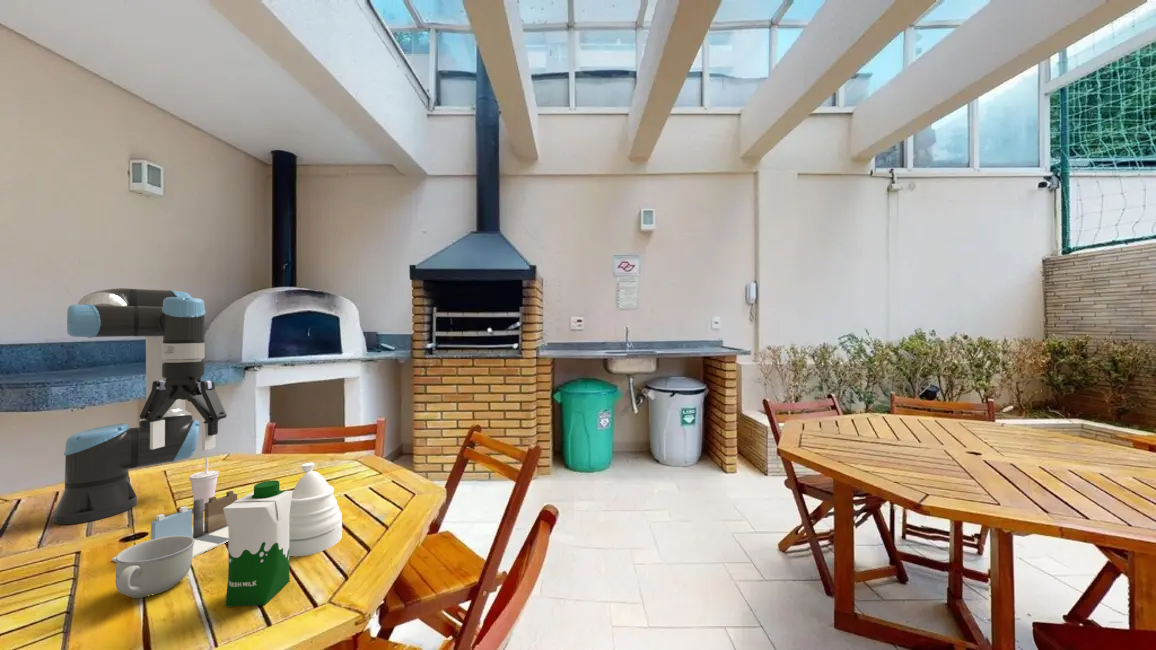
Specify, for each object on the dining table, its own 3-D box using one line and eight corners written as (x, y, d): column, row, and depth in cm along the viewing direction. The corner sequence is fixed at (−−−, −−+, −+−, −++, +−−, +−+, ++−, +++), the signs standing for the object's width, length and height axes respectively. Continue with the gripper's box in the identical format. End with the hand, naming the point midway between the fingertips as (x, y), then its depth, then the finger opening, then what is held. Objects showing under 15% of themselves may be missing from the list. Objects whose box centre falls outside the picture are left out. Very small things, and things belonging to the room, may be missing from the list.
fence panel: (150, 553, 92) (151, 517, 93) (187, 538, 99) (188, 504, 99) (154, 554, 92) (155, 518, 92) (192, 539, 99) (192, 505, 99)
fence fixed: (191, 537, 100) (191, 501, 100) (232, 520, 109) (232, 487, 109) (196, 538, 100) (196, 502, 100) (237, 521, 108) (237, 488, 108)
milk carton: (297, 579, 84) (297, 479, 84) (265, 609, 75) (266, 496, 75) (251, 580, 83) (252, 480, 84) (214, 611, 74) (215, 498, 75)
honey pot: (269, 544, 98) (270, 467, 98) (330, 524, 108) (330, 454, 108) (287, 563, 89) (288, 479, 90) (351, 540, 99) (351, 464, 100)
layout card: (112, 560, 91) (112, 557, 91) (219, 519, 111) (219, 516, 111) (161, 572, 87) (161, 569, 87) (263, 526, 107) (264, 524, 107)
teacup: (152, 573, 86) (152, 534, 86) (208, 570, 87) (208, 532, 87) (77, 619, 72) (77, 573, 72) (145, 615, 73) (145, 569, 73)
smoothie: (224, 505, 120) (224, 456, 121) (198, 514, 114) (198, 463, 115) (209, 502, 123) (210, 454, 123) (183, 511, 116) (183, 460, 117)
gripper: (119, 361, 99) (118, 451, 99) (216, 362, 97) (216, 453, 97) (153, 359, 106) (152, 443, 106) (245, 359, 104) (244, 445, 104)
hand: (183, 448), depth 101 cm, fingers open, 13 cm apart
